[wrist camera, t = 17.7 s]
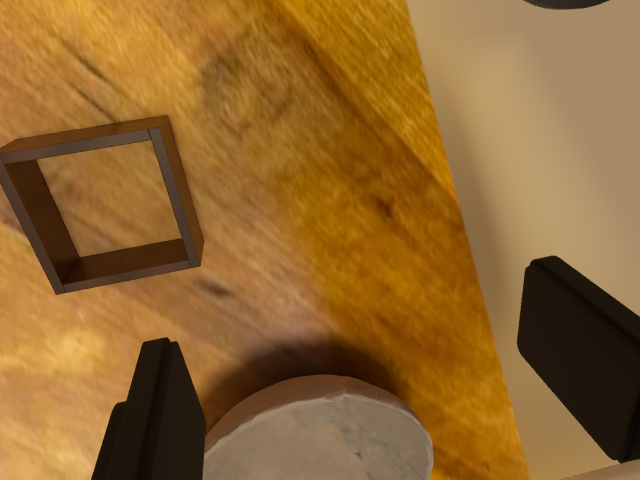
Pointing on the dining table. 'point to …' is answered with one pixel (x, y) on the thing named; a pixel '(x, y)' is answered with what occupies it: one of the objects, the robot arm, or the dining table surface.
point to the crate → (47, 225)
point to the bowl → (319, 434)
